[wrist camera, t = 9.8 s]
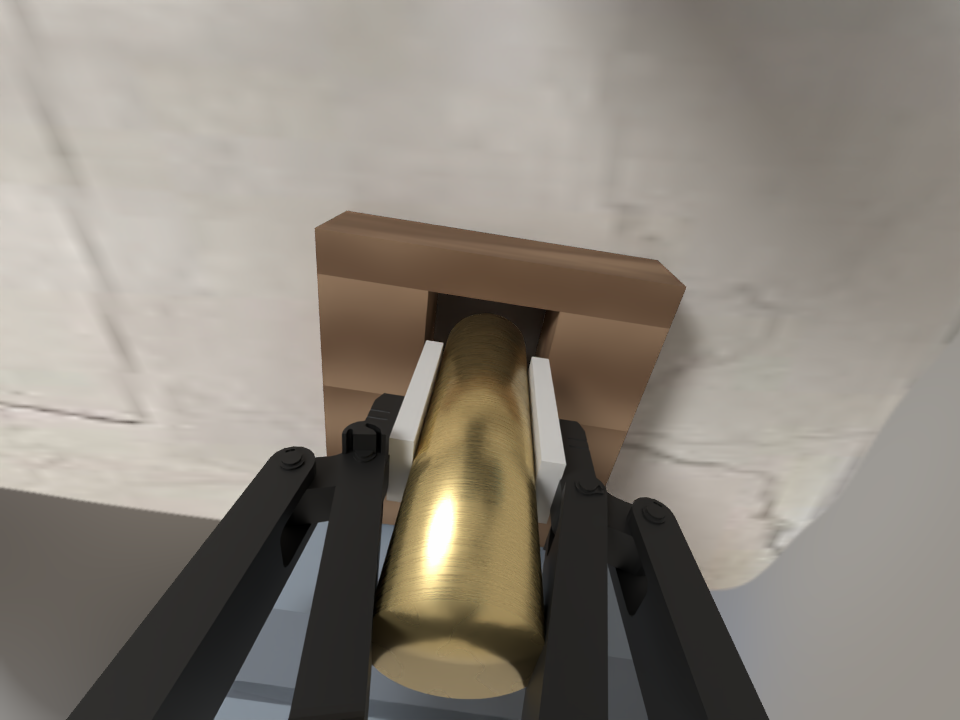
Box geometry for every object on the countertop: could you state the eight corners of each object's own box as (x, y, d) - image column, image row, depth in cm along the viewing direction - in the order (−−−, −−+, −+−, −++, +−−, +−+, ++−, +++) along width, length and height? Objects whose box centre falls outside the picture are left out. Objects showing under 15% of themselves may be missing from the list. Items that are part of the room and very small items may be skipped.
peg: (536, 369, 22) (572, 687, 9) (466, 392, 23) (415, 707, 10) (508, 301, 20) (506, 583, 8) (433, 329, 21) (326, 619, 9)
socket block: (346, 210, 21) (314, 228, 18) (657, 260, 21) (686, 287, 18) (350, 470, 30) (330, 515, 27) (570, 503, 30) (578, 552, 27)
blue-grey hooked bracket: (304, 408, 28) (82, 717, 13) (633, 457, 28) (763, 810, 14) (310, 485, 31) (141, 796, 17) (602, 529, 32) (680, 868, 17)
